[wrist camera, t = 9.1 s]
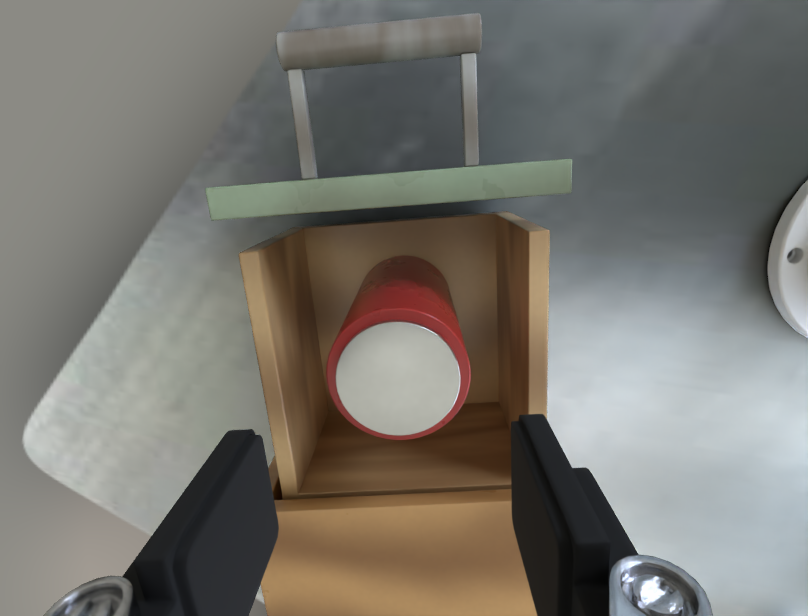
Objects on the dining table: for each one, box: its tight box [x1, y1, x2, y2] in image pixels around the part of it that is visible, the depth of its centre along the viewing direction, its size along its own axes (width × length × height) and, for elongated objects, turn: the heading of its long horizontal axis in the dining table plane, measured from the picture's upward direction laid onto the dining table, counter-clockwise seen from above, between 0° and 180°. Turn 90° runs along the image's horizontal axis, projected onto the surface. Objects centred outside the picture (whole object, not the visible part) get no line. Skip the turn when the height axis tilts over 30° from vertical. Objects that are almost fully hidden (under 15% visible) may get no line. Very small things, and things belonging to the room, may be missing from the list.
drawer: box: [205, 13, 572, 500], centre depth 22 cm, size 20×13×9 cm, turn 4°
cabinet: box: [261, 456, 537, 616], centre depth 27 cm, size 16×15×11 cm
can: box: [326, 256, 471, 440], centre depth 21 cm, size 5×5×10 cm
